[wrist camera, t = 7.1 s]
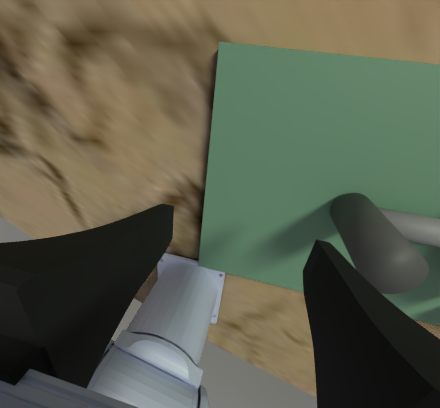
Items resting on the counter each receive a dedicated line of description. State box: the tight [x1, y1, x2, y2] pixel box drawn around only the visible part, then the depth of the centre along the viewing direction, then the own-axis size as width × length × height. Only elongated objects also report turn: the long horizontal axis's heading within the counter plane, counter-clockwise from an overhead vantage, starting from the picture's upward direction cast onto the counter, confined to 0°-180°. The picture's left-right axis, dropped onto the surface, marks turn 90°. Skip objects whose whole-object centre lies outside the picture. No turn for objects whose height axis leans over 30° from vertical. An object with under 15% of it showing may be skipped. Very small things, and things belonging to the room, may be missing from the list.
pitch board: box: [198, 42, 440, 326], centre depth 17 cm, size 20×35×1 cm, turn 83°
